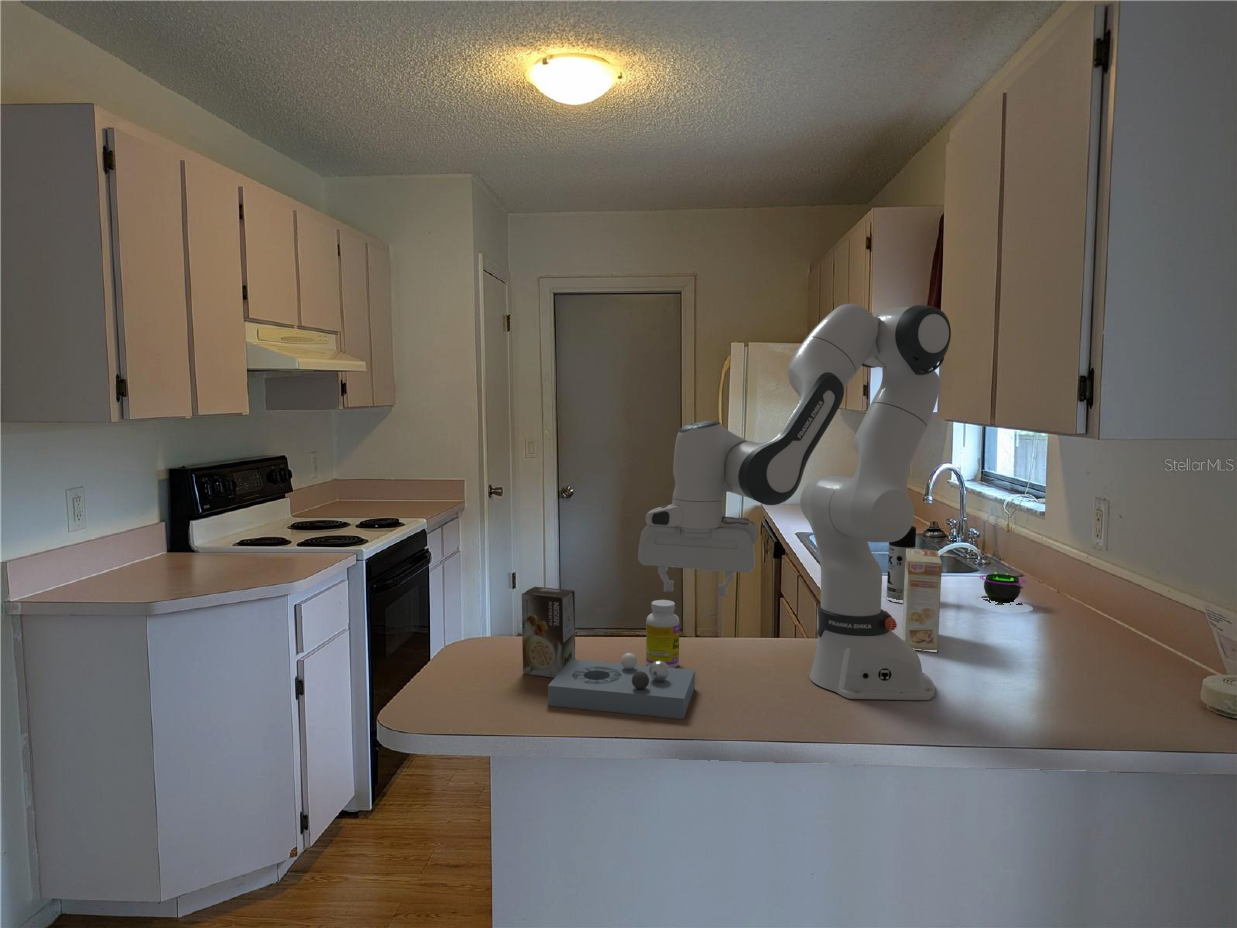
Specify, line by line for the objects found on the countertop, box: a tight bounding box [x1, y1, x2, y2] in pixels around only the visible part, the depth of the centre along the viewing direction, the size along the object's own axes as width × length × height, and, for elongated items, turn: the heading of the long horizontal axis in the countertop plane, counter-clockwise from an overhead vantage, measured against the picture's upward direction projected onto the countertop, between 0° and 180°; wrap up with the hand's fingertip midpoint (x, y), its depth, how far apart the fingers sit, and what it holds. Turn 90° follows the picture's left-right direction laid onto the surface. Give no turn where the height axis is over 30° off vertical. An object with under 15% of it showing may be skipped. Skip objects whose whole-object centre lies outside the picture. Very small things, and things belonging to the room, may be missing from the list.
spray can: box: [886, 525, 917, 600], centre depth 206 cm, size 7×7×20 cm
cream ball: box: [620, 652, 638, 669], centre depth 144 cm, size 3×3×3 cm
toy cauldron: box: [978, 562, 1028, 605], centre depth 203 cm, size 15×15×11 cm
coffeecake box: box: [901, 548, 943, 651], centre depth 172 cm, size 15×7×20 cm, turn 161°
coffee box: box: [521, 586, 576, 679], centre depth 152 cm, size 9×6×16 cm
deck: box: [547, 658, 696, 720], centre depth 140 cm, size 24×14×4 cm, turn 77°
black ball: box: [632, 671, 649, 689], centre depth 135 cm, size 3×3×3 cm
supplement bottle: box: [645, 599, 680, 668], centre depth 157 cm, size 7×7×13 cm
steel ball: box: [649, 661, 669, 681], centre depth 139 cm, size 4×4×4 cm
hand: (695, 593), depth 136 cm, fingers open, 8 cm apart
